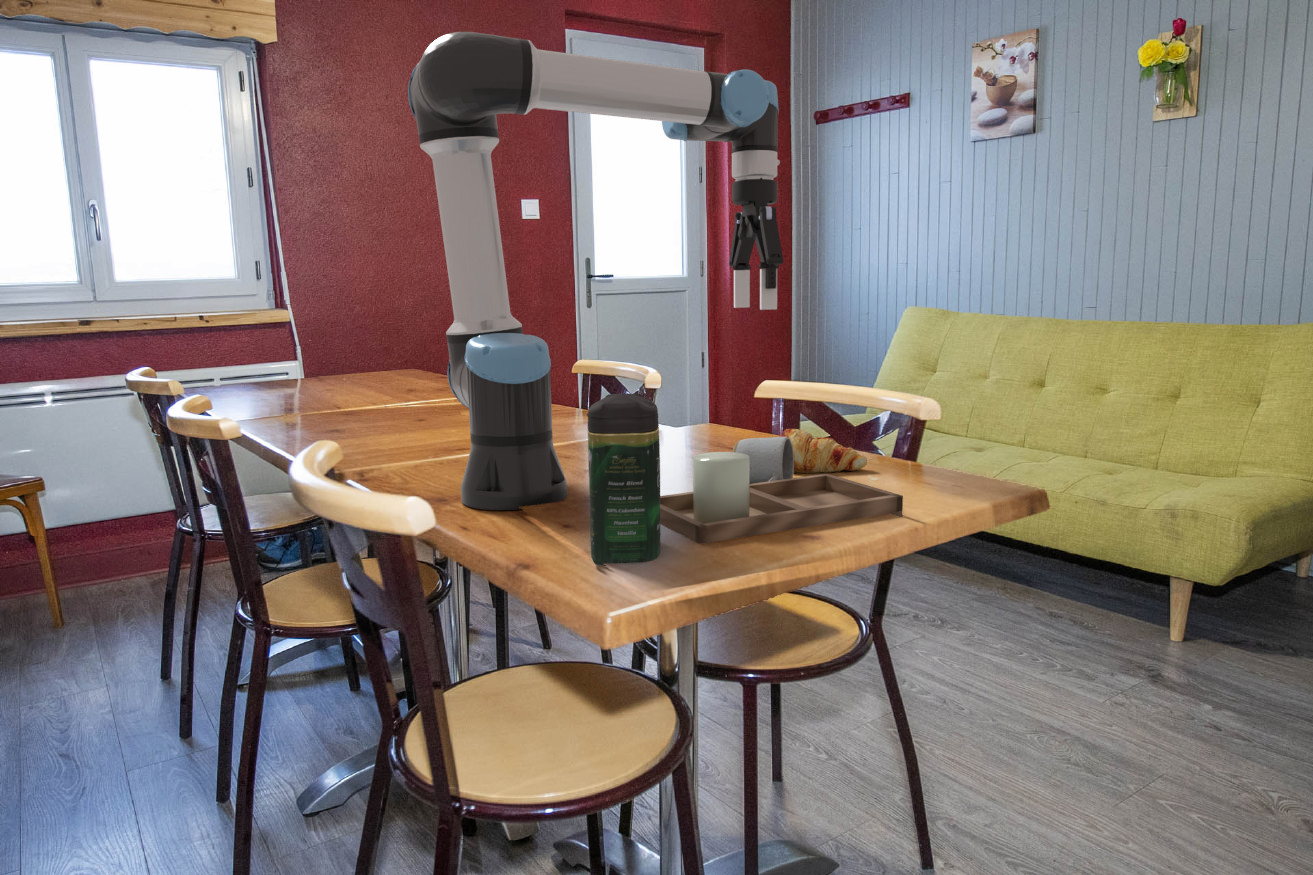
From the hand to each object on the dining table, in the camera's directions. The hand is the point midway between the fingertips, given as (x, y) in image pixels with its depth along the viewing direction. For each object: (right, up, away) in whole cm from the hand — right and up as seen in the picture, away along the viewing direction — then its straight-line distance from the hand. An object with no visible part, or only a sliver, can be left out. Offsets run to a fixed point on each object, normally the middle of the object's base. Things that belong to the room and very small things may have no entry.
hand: (754, 308), depth 159 cm
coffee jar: (-20, -36, -54) cm, 68 cm away
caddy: (-2, -33, -39) cm, 51 cm away
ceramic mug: (-1, -30, -21) cm, 36 cm away
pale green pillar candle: (-9, -32, -42) cm, 54 cm away
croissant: (+7, -27, -7) cm, 29 cm away
